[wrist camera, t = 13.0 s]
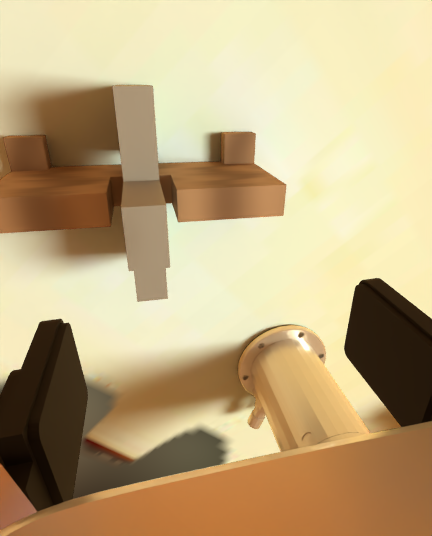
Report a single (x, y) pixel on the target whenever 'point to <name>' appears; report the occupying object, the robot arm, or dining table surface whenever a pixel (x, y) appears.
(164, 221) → the grey slotted plate
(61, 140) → the dining table surface
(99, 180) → the walnut slotted stand
